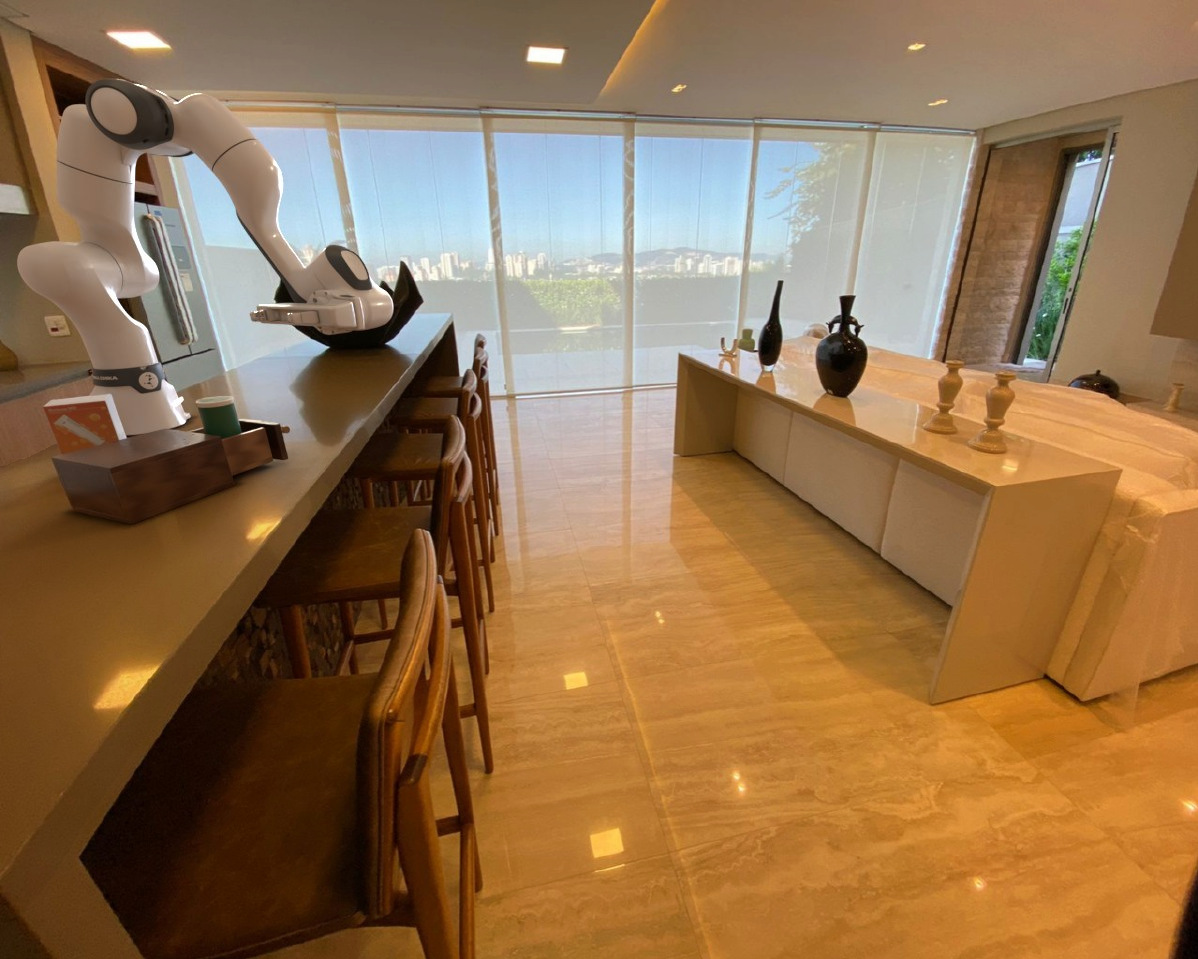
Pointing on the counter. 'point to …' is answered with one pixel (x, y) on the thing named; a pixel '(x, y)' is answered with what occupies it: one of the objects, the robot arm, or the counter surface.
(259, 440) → the drawer
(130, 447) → the cabinet
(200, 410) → the ball tube
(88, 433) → the small box
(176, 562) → the counter surface
